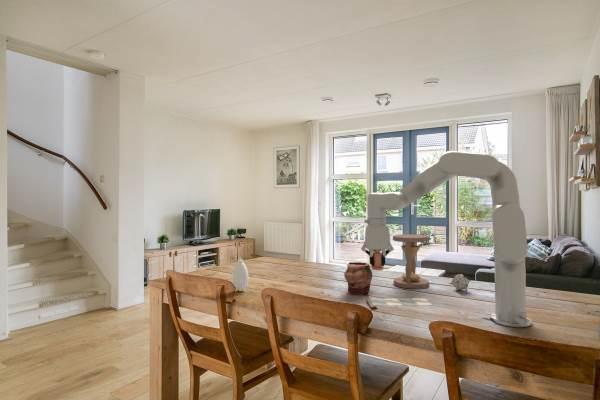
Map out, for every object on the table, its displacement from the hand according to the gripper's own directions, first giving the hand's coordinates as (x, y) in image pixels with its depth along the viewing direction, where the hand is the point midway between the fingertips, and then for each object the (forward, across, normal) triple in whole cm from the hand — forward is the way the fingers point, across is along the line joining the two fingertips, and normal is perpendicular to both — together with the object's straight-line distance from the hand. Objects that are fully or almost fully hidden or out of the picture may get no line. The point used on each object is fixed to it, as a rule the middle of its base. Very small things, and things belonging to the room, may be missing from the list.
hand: (377, 265), depth 150 cm
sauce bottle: (+17, -63, +24) cm, 69 cm away
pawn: (+2, 0, 0) cm, 2 cm away
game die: (+17, +43, +22) cm, 51 cm away
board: (+16, +9, 0) cm, 19 cm away
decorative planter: (+17, -5, +21) cm, 27 cm away
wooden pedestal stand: (+17, +23, +34) cm, 44 cm away
